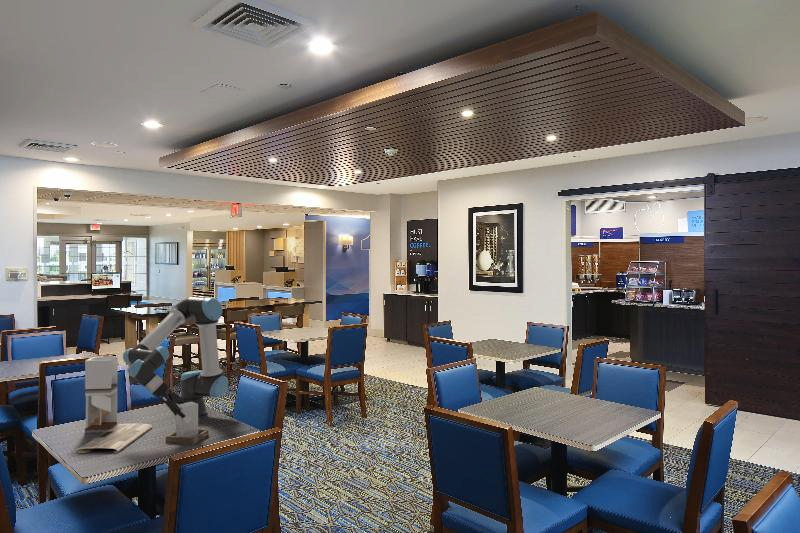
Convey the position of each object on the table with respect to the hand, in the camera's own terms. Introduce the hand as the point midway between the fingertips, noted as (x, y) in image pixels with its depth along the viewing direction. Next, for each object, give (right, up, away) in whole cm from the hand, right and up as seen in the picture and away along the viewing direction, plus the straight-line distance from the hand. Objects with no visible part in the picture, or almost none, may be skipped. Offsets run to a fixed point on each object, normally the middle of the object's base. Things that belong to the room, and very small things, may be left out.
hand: (191, 417), depth 262 cm
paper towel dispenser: (-50, -10, +14) cm, 53 cm away
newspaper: (-33, -10, -2) cm, 35 cm away
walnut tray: (-2, -10, 0) cm, 10 cm away
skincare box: (-2, -9, -1) cm, 9 cm away
